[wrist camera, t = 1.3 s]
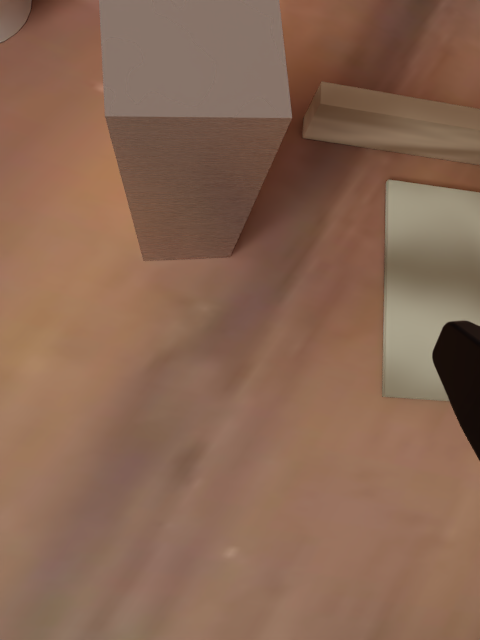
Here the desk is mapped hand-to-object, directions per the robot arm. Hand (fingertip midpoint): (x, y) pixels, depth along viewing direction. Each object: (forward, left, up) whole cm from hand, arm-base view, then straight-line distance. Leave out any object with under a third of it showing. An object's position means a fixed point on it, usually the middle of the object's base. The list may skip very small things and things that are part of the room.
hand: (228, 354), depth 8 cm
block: (+9, +1, -13) cm, 16 cm away
